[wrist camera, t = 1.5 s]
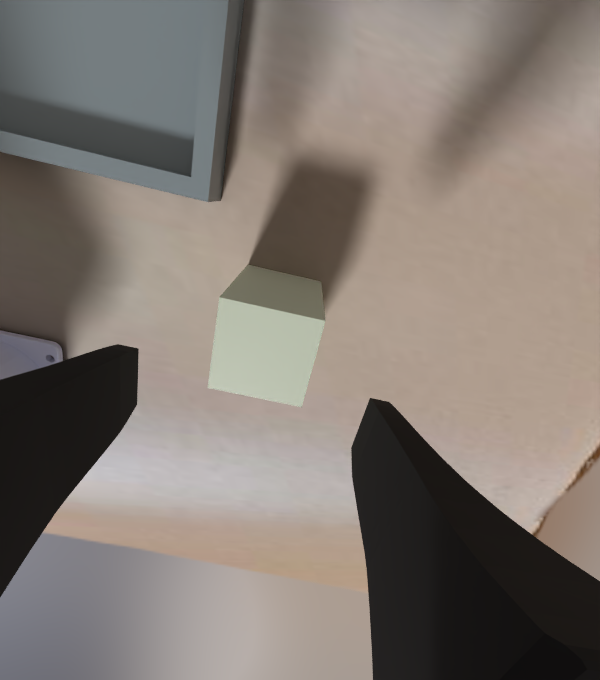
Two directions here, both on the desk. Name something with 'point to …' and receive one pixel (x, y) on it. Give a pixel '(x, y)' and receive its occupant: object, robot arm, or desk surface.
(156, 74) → the tray
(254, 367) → the sage block
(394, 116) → the desk surface
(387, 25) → the desk surface
